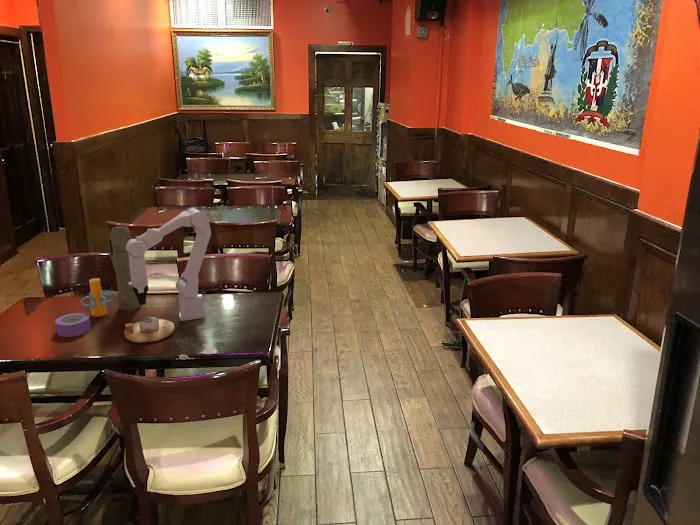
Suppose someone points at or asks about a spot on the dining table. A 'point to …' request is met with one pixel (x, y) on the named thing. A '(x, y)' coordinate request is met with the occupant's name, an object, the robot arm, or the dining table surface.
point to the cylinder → (97, 298)
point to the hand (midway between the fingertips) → (142, 304)
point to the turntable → (135, 335)
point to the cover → (149, 325)
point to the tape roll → (73, 324)
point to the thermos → (122, 267)
